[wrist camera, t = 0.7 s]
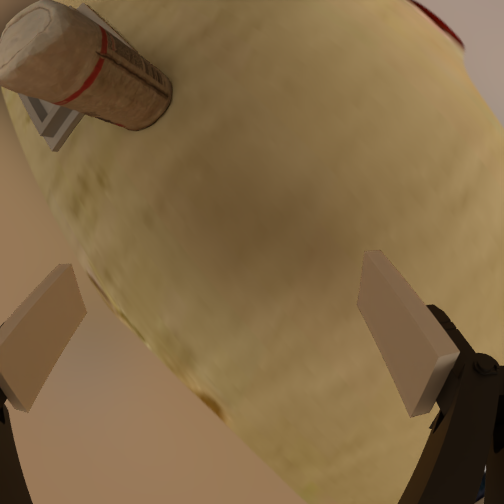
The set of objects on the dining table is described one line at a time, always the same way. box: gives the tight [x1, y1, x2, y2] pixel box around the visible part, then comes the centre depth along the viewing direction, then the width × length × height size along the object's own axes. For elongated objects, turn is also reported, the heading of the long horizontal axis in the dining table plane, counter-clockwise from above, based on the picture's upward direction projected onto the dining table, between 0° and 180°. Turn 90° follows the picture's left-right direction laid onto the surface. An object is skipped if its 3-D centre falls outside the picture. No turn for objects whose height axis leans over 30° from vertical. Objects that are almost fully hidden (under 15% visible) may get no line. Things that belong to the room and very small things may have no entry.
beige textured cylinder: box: [0, 0, 172, 131], centre depth 22 cm, size 8×8×20 cm
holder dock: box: [18, 3, 138, 152], centre depth 31 cm, size 17×17×4 cm
